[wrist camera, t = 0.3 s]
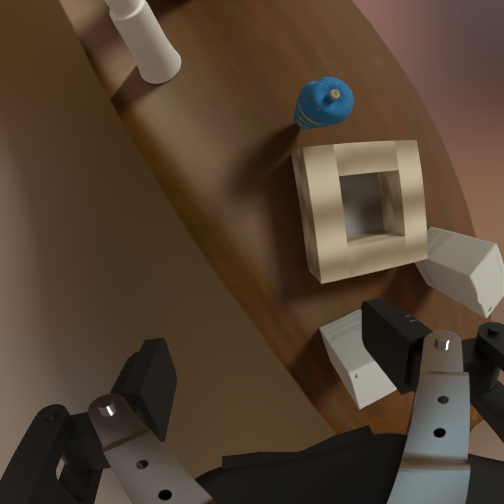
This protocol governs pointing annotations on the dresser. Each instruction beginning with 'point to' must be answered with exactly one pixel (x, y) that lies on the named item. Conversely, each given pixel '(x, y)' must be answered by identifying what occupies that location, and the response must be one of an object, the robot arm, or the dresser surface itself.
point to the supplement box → (355, 360)
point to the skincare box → (464, 269)
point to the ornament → (323, 103)
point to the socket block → (360, 207)
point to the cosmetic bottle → (145, 40)
